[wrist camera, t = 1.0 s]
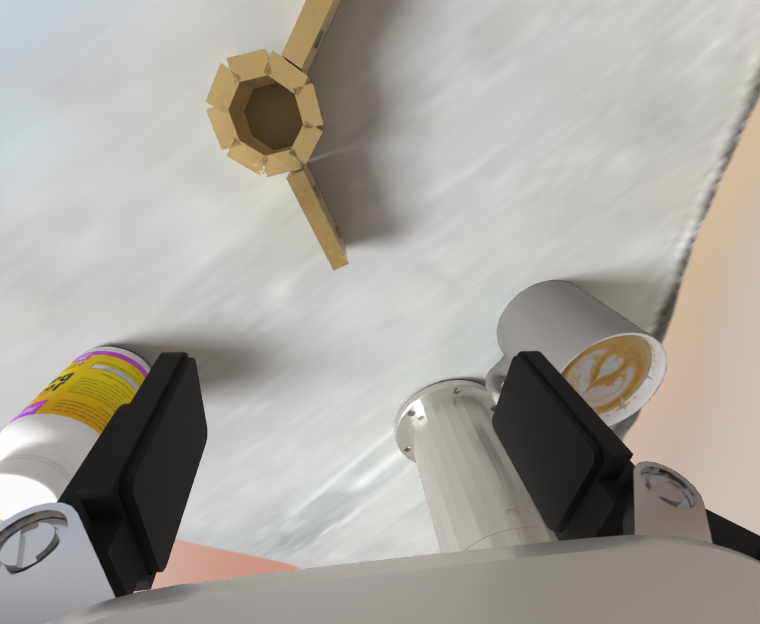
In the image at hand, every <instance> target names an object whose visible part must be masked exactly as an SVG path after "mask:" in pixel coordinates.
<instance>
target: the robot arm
mask: <svg viewBox="0 0 760 624" xmlns="http://www.w3.org/2000/svg"><path fill="white" fill-rule="evenodd" d="M394 431H395V437H396V441H397V445H398V447H399V449H400V451H401V452H402V453H403V454H404V455H405V456H406V457H407V458H408V459H410V460H412V461H413V462H415V463H417V467H418V471H419V474H420V478H421V482H422V485H423V489H424V493H425V496H426V500H427V504H428V507H429V511H430V515H431V518H432V522H433V526H434V529H435V533H436V537H437V541H438V544H439V548H440V552H441V554H431V555H422V556H413V557H404V558H395V559H386V560H377V561H368V562H360V563H351V564H342V565H334V566H325V567H316V568H308V569H299V570H290V571H282V572H273V573H265V574H256V575H248V576H241V577H234V578H227V579H219V580H211V581H203V582H196V583H188V584H181V585H175V586H170V587H164V588H159V589H153V590H149V589H151V587H152V584H153V581H154V578H155V575H156V572H163V571H164V569H165V568H166V565H167V563H168V560H169V556H170V553H171V550H172V547H173V544H174V541H175V538H176V535H177V532H178V528H179V525H180V522H181V519H182V516H183V513H184V510H185V507H186V504H187V501H188V497H189V494H190V491H191V488H192V485H193V482H194V479H195V476H196V473H197V469H198V466H199V463H200V460H201V457H202V454H203V451H204V448H205V445H206V441H207V424H206V418H205V412H204V407H203V401H202V395H201V389H200V383H199V378H198V372H197V366H196V361H195V359H194V358H188V355H187V353H185V352H165V353H161V354H160V355H159V357H158V359H157V360H156V362H155V363H154V365H153V367H152V368H151V370H150V371H149V373H148V375H147V376H146V378H145V380H144V381H143V383H142V384H141V386H140V388H139V389H138V391H137V393H136V394H135V396H134V397H133V399H132V401H131V402H130V403H128V404H122V405H121V406H119V408H118V409H117V410H116V411H115V413H114V414H113V416H112V418H111V419H110V421H109V422H108V424H107V425H106V427H105V428H104V430H103V431H102V433H101V435H100V436H99V438H98V439H97V441H96V442H95V444H94V445H93V447H92V448H91V450H90V451H89V453H88V455H87V456H86V458H85V459H84V461H83V462H82V464H81V465H80V467H79V468H78V470H77V472H76V473H75V475H74V476H73V478H72V479H71V481H70V482H69V484H68V485H67V487H66V489H65V490H64V492H63V493H62V495H61V496H60V498H59V499H58V501H57V502H56V503H45V504H41V505H36V506H33V507H31V508H28V509H26V510H23V511H21V512H19V513H17V514H15V515H13V516H12V517H10V518H8V519H7V520H5V521H4V522H2V523H1V524H0V624H760V536H759V535H757V534H755V533H753V532H751V531H749V530H747V529H745V528H743V527H741V526H739V525H737V524H735V523H733V522H731V521H729V520H727V519H725V518H723V517H721V516H719V515H717V514H715V513H713V512H711V511H709V510H707V509H705V506H704V502H703V500H702V497H701V495H700V493H699V492H698V491H697V490H696V488H695V487H694V486H693V485H692V484H691V483H690V482H689V481H688V480H687V479H686V478H684V477H683V476H681V475H680V474H679V473H677V472H676V471H674V470H672V469H670V468H668V467H666V466H664V465H661V464H658V463H655V462H648V461H645V462H639V463H638V464H637V465H635V466H634V464H633V463H632V462H631V461H630V459H631V457H632V456H633V453H632V452H631V451H630V450H629V449H628V448H627V447H626V446H625V444H624V443H623V442H622V441H621V440H620V439H619V438H618V437H617V436H616V435H615V433H614V432H613V431H612V430H611V429H610V428H609V427H608V426H607V425H606V423H605V422H604V421H603V420H602V419H601V418H600V417H599V416H598V415H597V414H596V412H595V411H594V410H593V409H592V408H591V407H590V406H589V405H588V404H587V402H586V401H585V400H584V399H583V398H582V397H581V396H580V395H579V394H578V393H577V391H576V390H575V389H574V388H573V387H572V386H571V385H570V384H569V383H568V381H567V380H566V379H565V378H564V377H563V376H562V375H561V374H560V373H559V372H558V370H557V369H556V368H555V367H554V366H553V365H552V364H551V363H550V362H549V361H548V359H547V358H546V357H545V356H544V355H543V354H542V353H541V352H540V351H520V352H519V353H518V354H517V356H514V357H513V359H512V361H511V364H510V367H509V370H508V373H507V376H506V379H505V382H504V384H503V387H502V390H501V393H500V396H499V399H498V402H497V405H495V404H494V402H493V401H492V399H491V398H490V396H489V394H488V392H487V389H486V387H485V386H483V385H481V384H479V383H476V382H472V381H467V380H451V381H445V382H441V383H437V384H434V385H432V386H429V387H427V388H425V389H423V390H422V391H420V392H418V393H417V394H415V395H414V396H413V397H412V398H410V399H409V400H408V401H407V403H406V404H405V405H404V406H403V407H402V409H401V410H400V412H399V414H398V416H397V419H396V422H395V430H394ZM141 590H147V591H142V592H137V593H133V592H134V591H141Z"/></svg>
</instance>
